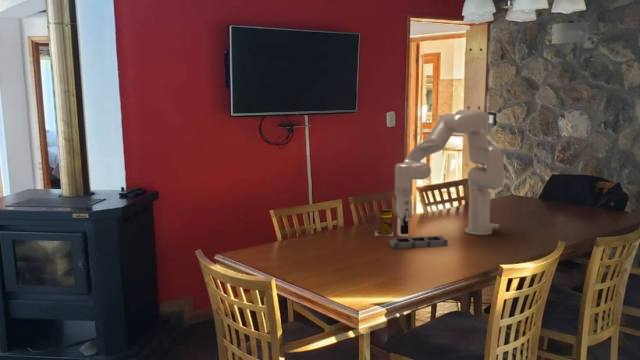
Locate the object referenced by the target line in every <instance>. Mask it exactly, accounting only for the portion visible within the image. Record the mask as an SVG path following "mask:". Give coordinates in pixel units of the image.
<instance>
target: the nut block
mask: <svg viewBox="0 0 640 360" xmlns="http://www.w3.org/2000/svg"><path fill="white" fill-rule="evenodd" d="M396 217H397V218H396V219H397V224H396V225H397V226H396V227H397V228H396V234H397V235H398V236H399V237H409V234H410V233H409V232H410V227H409V228H408V234H401V225H402V218H400V217H399V216H398V215H397V216H396ZM404 218H405V217H404Z"/></svg>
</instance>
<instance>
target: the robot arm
mask: <svg viewBox="0 0 640 360" xmlns="http://www.w3.org/2000/svg"><path fill="white" fill-rule="evenodd" d="M488 124H489V116H488V114H487V113H486V111H484V110H480V109H478V110H477V109H459V110H457V111H455V112H454V113H445V114H442V115H441V116H440V118H439V119H438V120H437V122H436V124H435V125H434V127H433V128H432V130H431V131H430V133H429V134H428V136H427V137H426V138H425V139H424V140H423V141H422V142H420V143H419V144H417V145H416V146H415V147H414V148H413V149H412V150H410V151H409V153H408V154H407V156H406V157H405V159H404V160H403V162H399V163H396V164H395V166H394V195H395V197H396V198H395V199H396V200H395V213H396V215H397V216H399V217H400V218H402V225H401V234H408V228H409V229H410V219H413V201H412V196H413V180H421V181H423V180H426V179H427V178H429V177H430V176H431V173H432V168H431V166H430V165H429V164H427V163H426V162H423V159H425V158H426V157H428V156H430V155H433V154H436V153H439V152H441V151H442V150H443V149H444V148H445V146H446V145H447V143H448V141H449V140H450V139H451V137H452V136H453V134H458V135H459V134H461V135H462V134H463V135H464V134H466V136H467V142H468V155H469V161H471V163H472V164H475V165H479V166H474V167H471V168H470V169H469V170H468V173H467V183H468V188H469V189H468V193H469V195H468V196H469V197H468V198H469V199H468V223H467V224H468V225H467V227H465V228H464V232H465V233H466V234H469V235H474V236H475V235H476V236H487V235H492V233H493V229H499V228H500V224H499V223H491V222H490V213H491V212H490V210H491V209H490V208H491V194H490V190H499V189H500V188H501V187H502V186H503V185H504V182H505V181H504V179H505V171H504V158H503V157H504V156H503V153H502V150H501V149H500V148H499V147H498V146H496V145H492V144H491V145H489V143H488V137H487V132H486V127H487V126H488ZM404 217H405V218H404Z"/></svg>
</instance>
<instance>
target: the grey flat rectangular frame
mask: <svg viewBox="0 0 640 360" xmlns="http://www.w3.org/2000/svg"><path fill="white" fill-rule="evenodd" d="M389 245H390V246H391V247H392V248H393V250H400V249H416V248H417V249H418V248H436V247H437V248H438V247H448V240H447V239H446V238H445V237H444V236H441V235H435V236H434V235H433V236H416V237H415V236H414V237H413V236H412V237H394V238H389Z"/></svg>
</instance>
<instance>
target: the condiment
mask: <svg viewBox="0 0 640 360" xmlns="http://www.w3.org/2000/svg"><path fill="white" fill-rule="evenodd" d="M379 211H380V213H379V221H378V222H379V224H378V225H379V229H378V230H374V236H384V237H385V236H386V237H387V236H388V237H390V236H392V237H393V236H394V232H393V215H392V209H391V208H381V209H380V210H379Z"/></svg>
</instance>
